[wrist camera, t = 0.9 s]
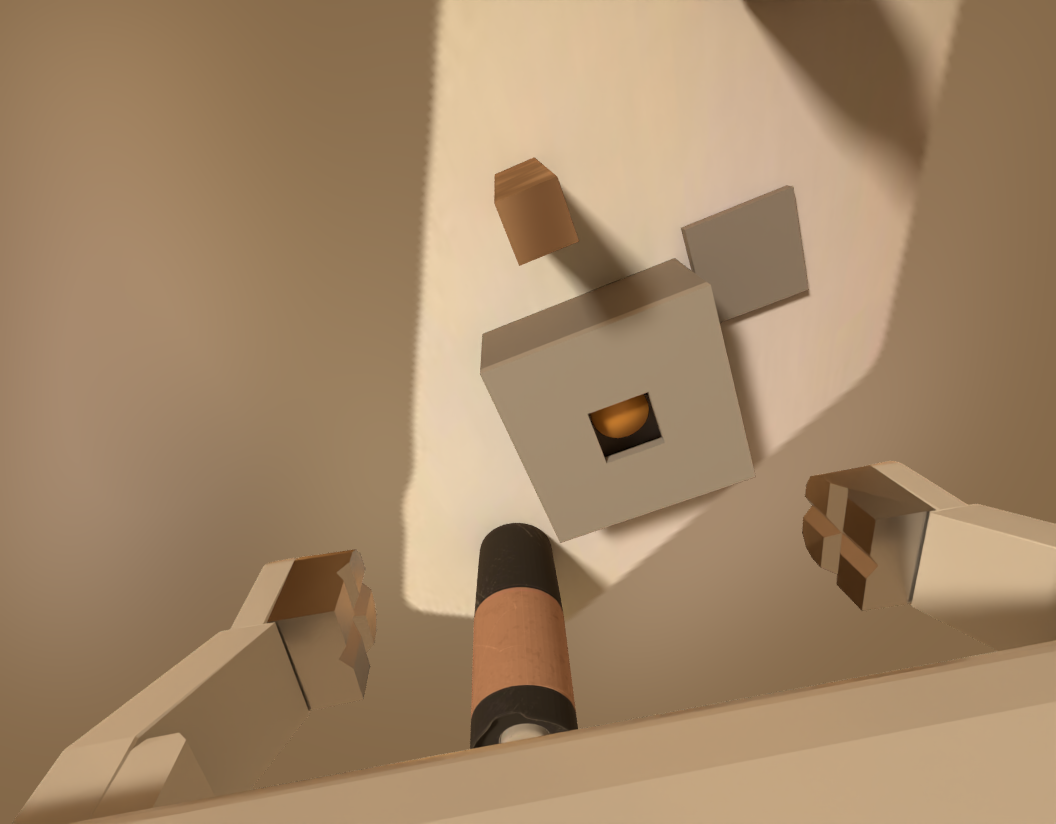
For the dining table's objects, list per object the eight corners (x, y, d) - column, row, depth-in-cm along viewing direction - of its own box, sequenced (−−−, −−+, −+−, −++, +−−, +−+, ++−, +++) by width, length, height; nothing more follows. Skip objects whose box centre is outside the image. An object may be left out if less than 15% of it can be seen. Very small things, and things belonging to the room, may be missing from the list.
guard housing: (674, 258, 42) (710, 285, 35) (718, 426, 49) (755, 476, 42) (482, 334, 44) (480, 374, 37) (551, 485, 51) (560, 542, 44)
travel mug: (533, 588, 57) (551, 795, 40) (465, 566, 55) (451, 773, 38) (567, 534, 54) (602, 733, 37) (495, 510, 52) (496, 706, 35)
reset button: (632, 365, 43) (639, 378, 41) (647, 411, 45) (655, 426, 43) (579, 385, 44) (583, 398, 41) (596, 429, 45) (601, 445, 43)
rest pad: (786, 185, 40) (793, 186, 39) (802, 286, 44) (808, 289, 43) (681, 227, 41) (685, 230, 40) (704, 323, 45) (708, 327, 44)
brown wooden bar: (534, 157, 39) (557, 176, 24) (549, 199, 40) (579, 241, 26) (494, 174, 39) (494, 203, 25) (510, 216, 40) (519, 265, 26)
